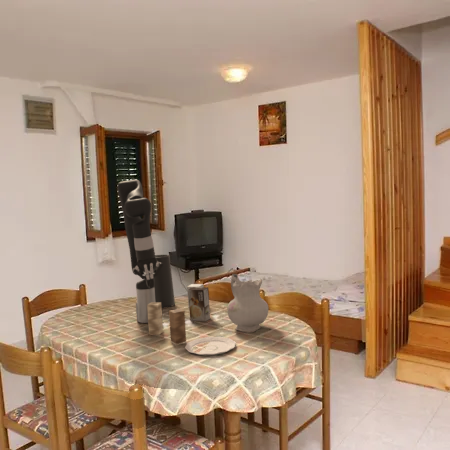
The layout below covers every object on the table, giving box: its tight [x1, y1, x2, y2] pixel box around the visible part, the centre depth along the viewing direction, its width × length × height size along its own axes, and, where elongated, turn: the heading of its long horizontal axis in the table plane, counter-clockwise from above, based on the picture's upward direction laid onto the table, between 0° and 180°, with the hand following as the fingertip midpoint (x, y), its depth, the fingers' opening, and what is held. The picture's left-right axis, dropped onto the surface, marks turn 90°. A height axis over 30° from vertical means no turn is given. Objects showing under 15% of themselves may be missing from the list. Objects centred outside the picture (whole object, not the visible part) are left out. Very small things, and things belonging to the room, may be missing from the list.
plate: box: [184, 336, 237, 356], centre depth 189 cm, size 21×21×2 cm
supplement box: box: [186, 283, 205, 307], centre depth 257 cm, size 7×7×13 cm
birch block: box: [147, 302, 164, 336], centre depth 213 cm, size 5×5×14 cm
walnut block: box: [168, 308, 187, 346], centre depth 198 cm, size 5×5×14 cm
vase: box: [154, 254, 176, 309], centre depth 266 cm, size 14×14×29 cm
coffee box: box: [187, 286, 211, 322], centre depth 232 cm, size 9×6×16 cm
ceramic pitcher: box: [226, 273, 269, 333], centre depth 214 cm, size 22×20×25 cm
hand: (150, 287), depth 190 cm, fingers closed
